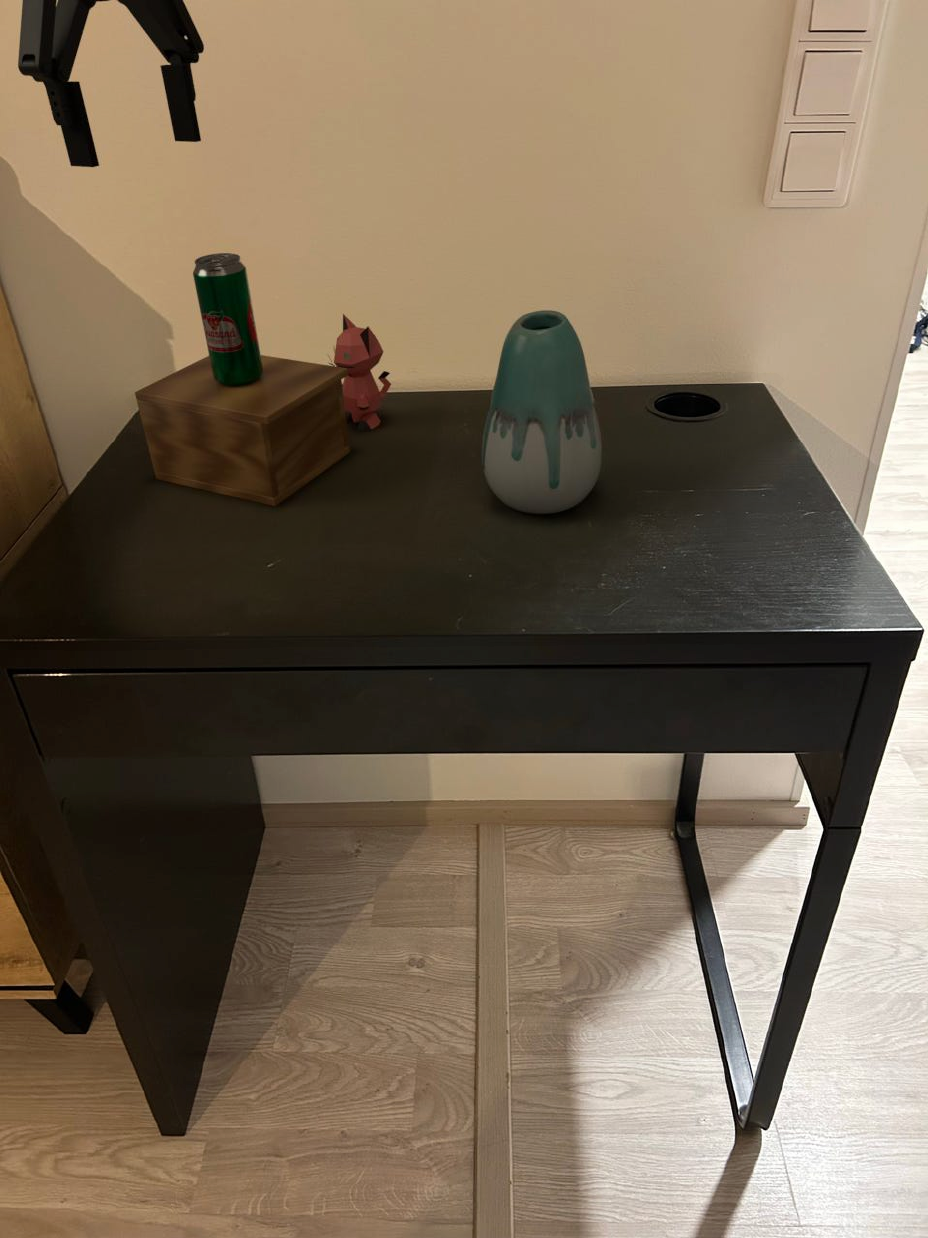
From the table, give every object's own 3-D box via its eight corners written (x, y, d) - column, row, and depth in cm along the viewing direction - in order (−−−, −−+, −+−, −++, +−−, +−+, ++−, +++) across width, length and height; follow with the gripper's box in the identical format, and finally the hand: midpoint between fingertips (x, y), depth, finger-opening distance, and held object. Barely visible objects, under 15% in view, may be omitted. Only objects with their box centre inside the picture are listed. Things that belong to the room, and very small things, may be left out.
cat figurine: (326, 419, 113) (313, 318, 107) (377, 405, 116) (367, 305, 110) (354, 438, 109) (342, 334, 102) (406, 423, 111) (397, 320, 105)
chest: (350, 452, 106) (341, 374, 101) (275, 506, 96) (260, 423, 91) (237, 430, 112) (223, 356, 107) (156, 479, 102) (136, 400, 97)
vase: (512, 537, 88) (509, 347, 78) (465, 486, 97) (457, 310, 87) (622, 511, 92) (633, 325, 82) (567, 464, 101) (571, 291, 91)
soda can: (204, 385, 97) (179, 263, 90) (232, 368, 101) (210, 250, 94) (246, 390, 96) (224, 267, 89) (273, 372, 99) (254, 253, 92)
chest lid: (348, 375, 100) (347, 367, 100) (268, 424, 90) (266, 416, 90) (223, 355, 107) (222, 348, 106) (136, 399, 97) (134, 392, 96)
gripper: (149, -127, 88) (196, 130, 100) (-89, -140, 70) (3, 175, 82) (213, -134, 85) (254, 132, 97) (-19, -150, 67) (66, 179, 79)
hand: (139, 153), depth 89 cm, fingers open, 13 cm apart
